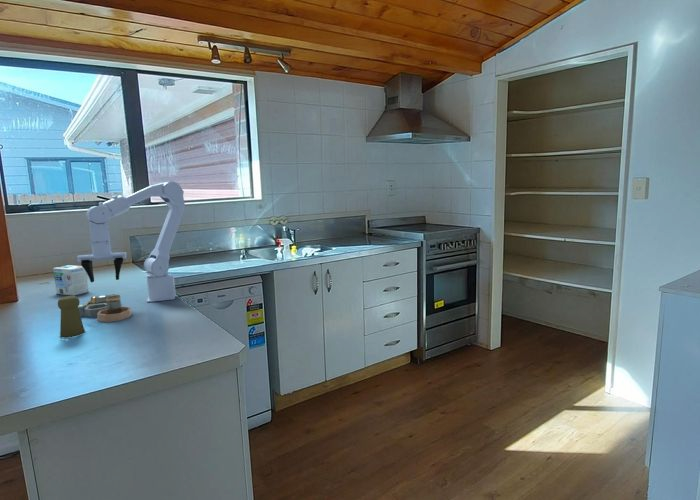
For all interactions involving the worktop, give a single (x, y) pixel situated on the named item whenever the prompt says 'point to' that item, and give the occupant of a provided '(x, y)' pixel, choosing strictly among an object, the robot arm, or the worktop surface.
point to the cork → (70, 317)
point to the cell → (113, 304)
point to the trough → (89, 304)
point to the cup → (114, 315)
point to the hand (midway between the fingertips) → (105, 280)
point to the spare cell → (98, 299)
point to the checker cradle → (91, 309)
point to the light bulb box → (70, 280)
